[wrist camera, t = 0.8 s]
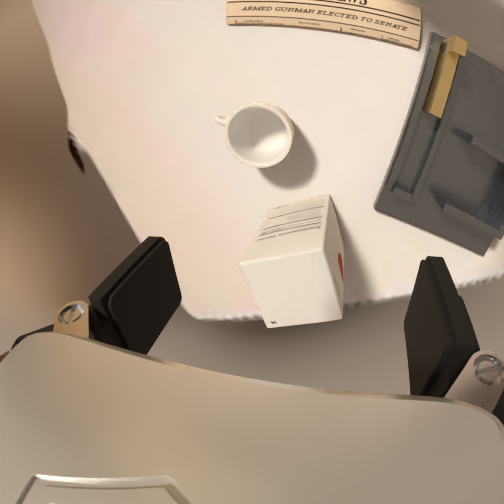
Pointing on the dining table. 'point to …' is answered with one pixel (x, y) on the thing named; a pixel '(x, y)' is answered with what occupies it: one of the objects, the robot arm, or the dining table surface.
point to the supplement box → (297, 264)
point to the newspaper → (334, 17)
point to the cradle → (452, 156)
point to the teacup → (258, 134)
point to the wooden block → (444, 74)
